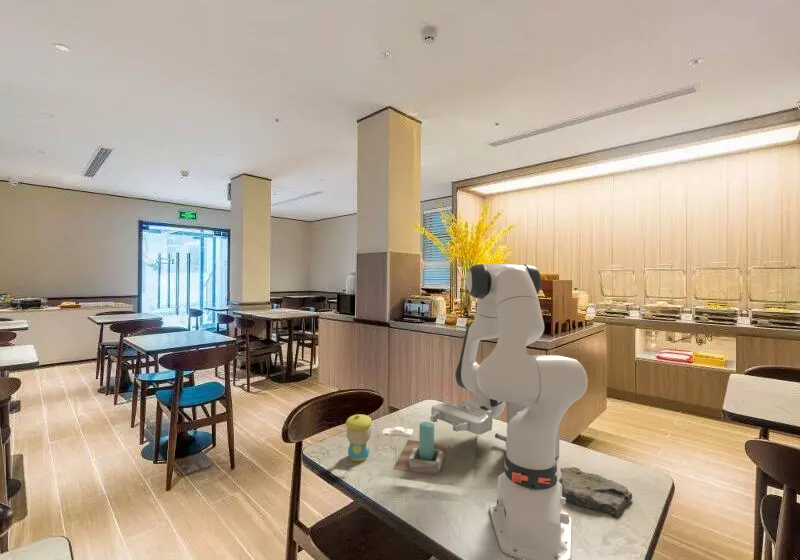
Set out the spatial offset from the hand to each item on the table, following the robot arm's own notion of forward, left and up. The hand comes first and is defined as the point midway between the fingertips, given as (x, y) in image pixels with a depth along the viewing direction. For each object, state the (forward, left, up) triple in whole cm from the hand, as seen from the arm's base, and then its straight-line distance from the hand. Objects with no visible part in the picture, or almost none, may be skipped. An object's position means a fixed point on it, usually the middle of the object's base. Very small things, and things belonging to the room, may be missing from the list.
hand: (442, 423), depth 117 cm
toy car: (+14, +18, -12) cm, 26 cm away
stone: (-7, -42, -12) cm, 44 cm away
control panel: (+12, -24, -12) cm, 29 cm away
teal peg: (-6, +4, -10) cm, 13 cm away
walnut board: (-1, +6, -12) cm, 13 cm away
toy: (-7, +25, -12) cm, 29 cm away
